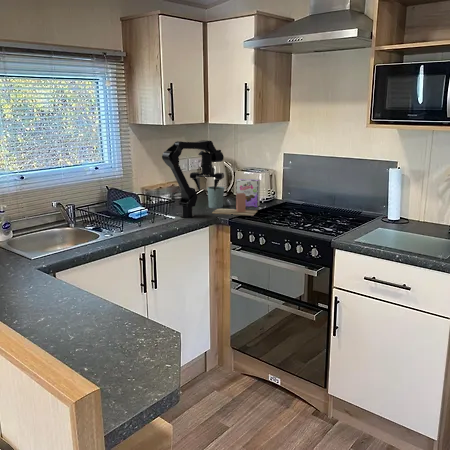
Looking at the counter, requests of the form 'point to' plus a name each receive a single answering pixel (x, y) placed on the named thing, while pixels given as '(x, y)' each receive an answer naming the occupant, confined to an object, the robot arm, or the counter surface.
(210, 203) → the teal cup
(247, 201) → the candy box
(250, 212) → the board
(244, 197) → the painted block
